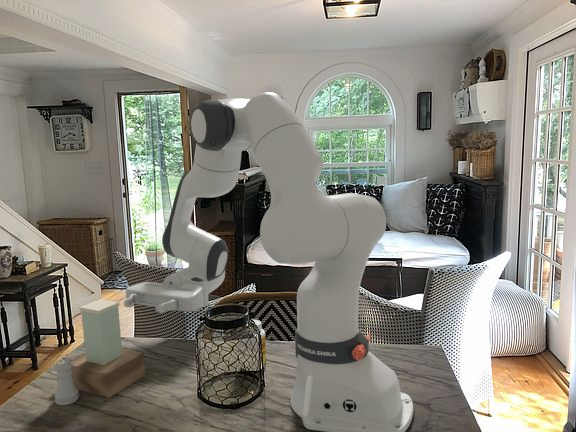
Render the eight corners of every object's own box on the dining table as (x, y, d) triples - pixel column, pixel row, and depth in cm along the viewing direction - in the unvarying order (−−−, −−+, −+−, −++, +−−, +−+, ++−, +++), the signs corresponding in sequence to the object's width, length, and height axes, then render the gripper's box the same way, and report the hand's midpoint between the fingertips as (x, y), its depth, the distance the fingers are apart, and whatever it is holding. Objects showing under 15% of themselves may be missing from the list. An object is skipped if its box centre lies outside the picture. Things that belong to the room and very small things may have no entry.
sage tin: (123, 354, 100) (119, 302, 98) (103, 365, 95) (98, 310, 93) (104, 350, 102) (100, 299, 100) (84, 361, 97) (79, 307, 95)
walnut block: (144, 374, 101) (143, 352, 100) (109, 397, 92) (107, 374, 91) (103, 364, 106) (101, 343, 105) (66, 385, 97) (63, 363, 96)
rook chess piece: (49, 405, 90) (45, 366, 88) (63, 393, 94) (59, 356, 93) (71, 407, 89) (67, 367, 88) (84, 394, 93) (80, 356, 92)
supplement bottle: (252, 375, 99) (250, 330, 98) (235, 367, 103) (233, 323, 102) (271, 366, 103) (270, 322, 101) (255, 358, 107) (253, 316, 105)
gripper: (147, 273, 124) (107, 288, 112) (212, 281, 115) (176, 298, 103) (149, 296, 125) (109, 313, 113) (213, 306, 116) (178, 326, 104)
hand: (142, 306), depth 108 cm, fingers open, 8 cm apart
